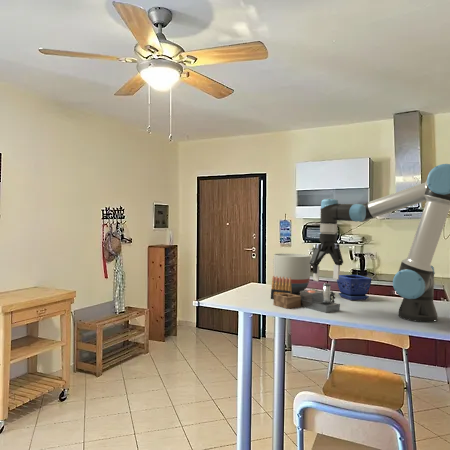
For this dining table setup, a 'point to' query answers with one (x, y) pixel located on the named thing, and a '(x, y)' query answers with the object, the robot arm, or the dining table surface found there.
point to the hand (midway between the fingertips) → (326, 279)
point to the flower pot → (353, 286)
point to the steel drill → (326, 293)
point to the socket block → (317, 302)
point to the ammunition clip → (277, 287)
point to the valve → (330, 295)
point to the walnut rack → (287, 300)
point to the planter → (293, 270)
